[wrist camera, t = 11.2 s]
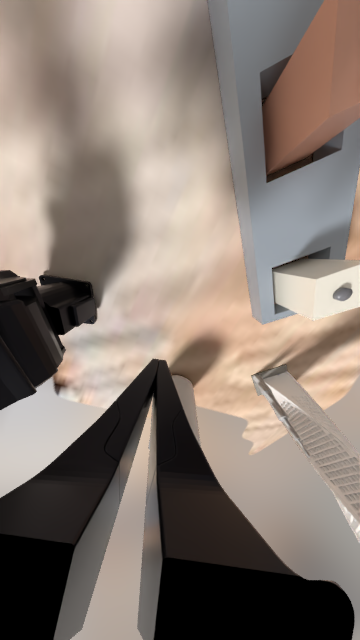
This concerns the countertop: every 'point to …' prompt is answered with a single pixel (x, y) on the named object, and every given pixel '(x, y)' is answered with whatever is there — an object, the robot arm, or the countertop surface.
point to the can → (187, 402)
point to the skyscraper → (315, 438)
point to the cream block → (317, 286)
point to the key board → (249, 154)
